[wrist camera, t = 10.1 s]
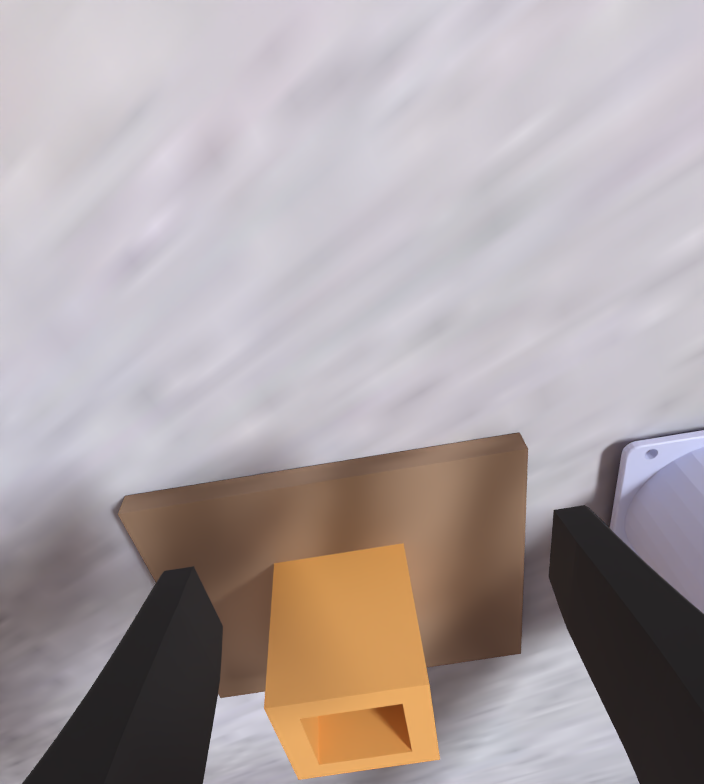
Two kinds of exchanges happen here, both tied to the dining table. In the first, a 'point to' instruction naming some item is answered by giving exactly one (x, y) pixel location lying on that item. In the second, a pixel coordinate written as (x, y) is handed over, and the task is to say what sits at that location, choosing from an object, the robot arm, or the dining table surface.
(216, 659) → the robot arm
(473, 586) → the wooden board with peg
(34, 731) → the dining table surface
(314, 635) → the orange hollow cube
